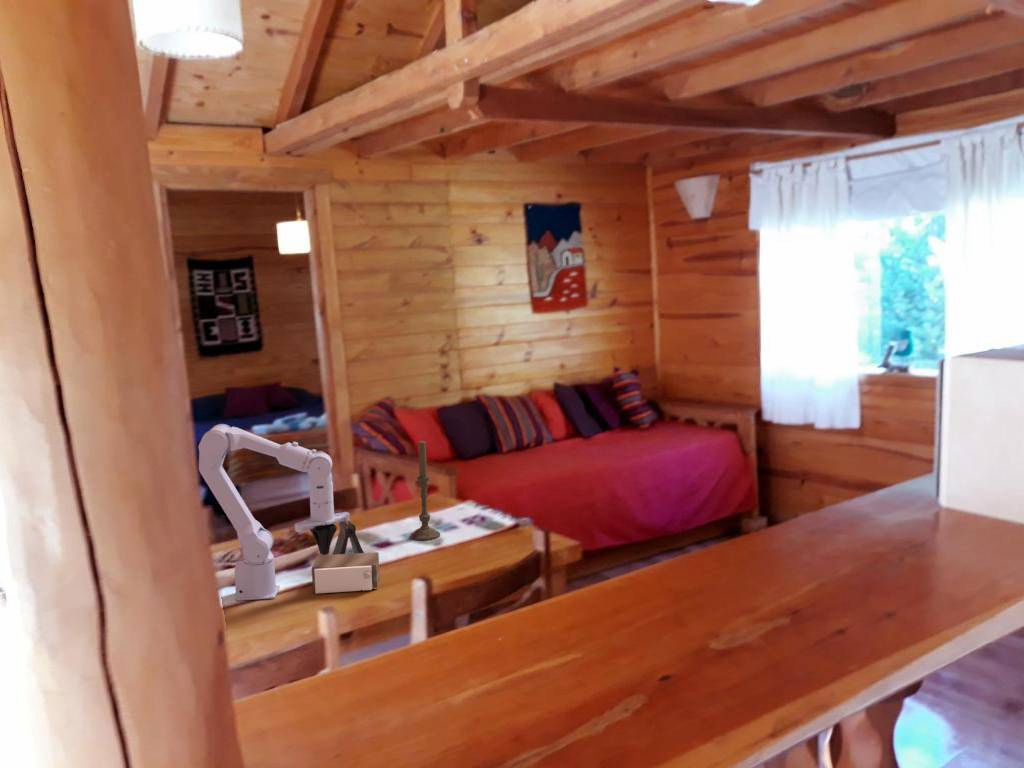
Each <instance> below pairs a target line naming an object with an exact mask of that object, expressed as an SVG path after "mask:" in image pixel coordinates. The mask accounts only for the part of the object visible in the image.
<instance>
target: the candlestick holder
mask: <svg viewBox="0 0 1024 768" xmlns="http://www.w3.org/2000/svg"><path fill="white" fill-rule="evenodd" d="M417 443H418V469H419V470H418V471H419V475H417V476H416V479H417V480H418V483H417V486H418V487H419V488H420V498H421V514H419V515H418V518H419V521H420V522H421V526H420V527H419V528H417V529H415V530H414V531H413V532H411V533H410V538H411V539H412V540H416V541H421V542H422V541H433V540H436V539H438V538H439V537H441V532H439V531H438V530H437V529H435V528H433V527H430V525H429V521H430V520H431V514H430V513H429V512H428V510H427V505H428V504H427V500H428V499H427V498H428V491H427V488H428V487H429V485H430V482H429V479H431V477H430V476H429V475H428V473H427V452H426V451H427V449H426V448H427V447H426V445H427V444H426V443H427V442H426V441H424V440H420V441H418V442H417ZM432 539H433V540H432Z"/></svg>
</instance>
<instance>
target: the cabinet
mask: <svg viewBox="0 0 1024 768" xmlns="http://www.w3.org/2000/svg"><path fill="white" fill-rule="evenodd" d="M379 554H380V553H379V552H376V551H375V552H364V553H355V554H354V553H345V554H336V555H333V554H327V555H322V554H320V555H316V557H315V559H314V562H313V564H312V567H311V581H312V594H317V593H316V592H315V574H314V570H315V569H322V568H338V567H354V566H370V565H371V568H372V589H374V588H377V587H378V588H379V583H378V581H380V574H381V573H380V555H379Z"/></svg>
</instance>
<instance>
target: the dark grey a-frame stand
mask: <svg viewBox="0 0 1024 768" xmlns="http://www.w3.org/2000/svg"><path fill="white" fill-rule="evenodd" d="M338 524H339V531H338V536H337V539H336V542H335V545H334V549H333V553H332V555H336V554H346V551H347V547H348V543H349V541H350V543H351V547H352V550H353V554H355V553H365V552H364V550H363V548H362V546H361V543H360V541H359V539H358V536H357V533H356V532H357V531H356V529H357V528H356V526H355V524H354V523H352V522H351V520H349V521H342V522H338Z"/></svg>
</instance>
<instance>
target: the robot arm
mask: <svg viewBox="0 0 1024 768" xmlns="http://www.w3.org/2000/svg"><path fill="white" fill-rule="evenodd" d="M197 447H198V451H199V453H198V456H199V458H198V471H199V473H200V474H201V477H202V478H203V479H204V481H205V483H206V484H207V486H208V487H209V489H210V491H211V492H212V494H213V495H214V497H215V499H216V500H217V502H218V504H219V505H220V506H221V508H222V511H223V512H224V513H225V514H226V516H227V518H228V520H229V521H230V522H231V525H232V526H233V528H234V530H235V531H236V534H237V539H238V542H239V544H240V546H241V549H242V551H241V552H242V557H243V560H238V561H236V562H235V565H234V585H235V601H252V600H269V599H275V598H276V596H277V593H278V592H279V590H280V588H281V586H280V585H276V582H277V581H276V570H275V567H276V566H275V556H274V554H273V553H272V551H271V549H272V547H273V546H274V537H273V534H272V533H271V532H270V531H269V530H268V529H265V528H264V526H263V525H262V524H261V523H260V522H259V521H258V520H256V519H255V517H254V516H253V514H252V513H251V510H250V509H249V508H248V506H247V504H246V502H245V501H244V499H243V497H242V496H241V495H240V492H238V489H237V488H236V487H235V484H234V483H233V482H232V480H231V478H230V477H229V475H228V474H227V472H226V469H224V466H223V464H224V461H225V458H226V455H227V453H228V451H231V452H233V451H237V450H241V449H246V450H247V449H248V450H250V451H255V452H257V453H260V454H264V455H267V456H271V457H274V458H276V459H277V461H278V464H279V465H282V466H283V467H288V468H290V469H293V470H296V471H299V472H302V473H307V474H308V476H309V484H308V486H309V488H308V489H309V505H310V506H309V507H310V518H308V519H305V520H302V521H300V522H297V523H294V531H295V532H296V533H298V534H299V533H303V532H305V531H307V530H308V531H310V532H311V534H312V536H313V538H314V540H315V542H316V544H317V548H318V551H319V554H320V555H330V550H331V549H330V548H331V544H332V540H333V538H334V537H335V533H336V532H337V529H338V527H337V525H335V524H336V523H337V524H339V523H340V522H342V521H345V522H348V521H351V517H350V512H347V511H343V512H338V513H335V507H334V505H335V504H334V486H333V485H334V484H333V481H332V480H333V476H332V468H333V460H332V458H331V456H330V455H329V454H327V453H326V452H324V451H317V449H314V448H313V449H308V448H306V447H303V446H300V445H299V442H297V441H293V442H292V443H291V442H286V443H284V444H279V443H277V442H275V441H272V440H269V439H267V438H264V437H262V436H259V435H257V434H254V433H252V432H249V431H247V430H244V429H242V428H239V427H238V426H237V427H236V426H232V427H231V426H230V425H228V424H224V423H219V424H216V425H213V427H211V429H210V430H209V431H206V432H205V433H204V434H203V435H202V438H201V440H200V442H199V445H198V446H197Z"/></svg>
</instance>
